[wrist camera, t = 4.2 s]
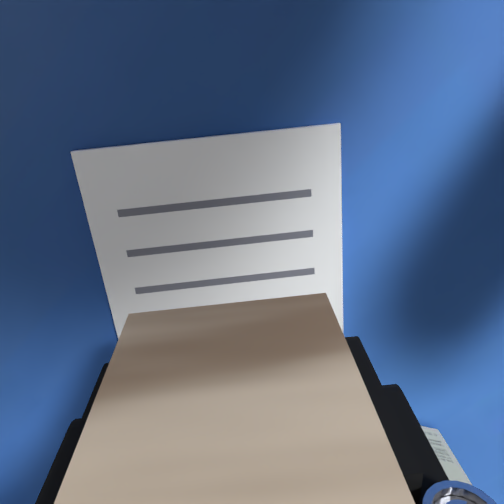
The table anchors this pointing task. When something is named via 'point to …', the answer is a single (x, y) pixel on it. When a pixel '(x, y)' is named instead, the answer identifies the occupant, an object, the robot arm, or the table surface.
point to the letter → (216, 219)
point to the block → (234, 413)
